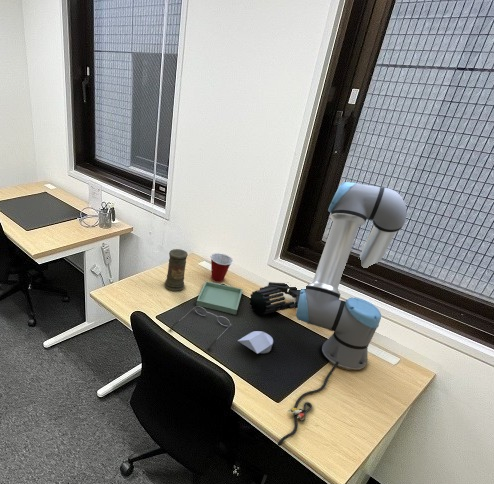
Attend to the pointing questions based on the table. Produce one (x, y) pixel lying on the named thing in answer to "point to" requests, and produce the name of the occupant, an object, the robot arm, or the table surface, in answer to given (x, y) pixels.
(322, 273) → the robot arm
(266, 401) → the table surface
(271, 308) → the pen pot
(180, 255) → the container
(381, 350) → the table surface
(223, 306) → the desk tray
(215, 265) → the plastic cup
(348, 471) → the table surface
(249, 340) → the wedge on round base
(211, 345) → the eyeglasses
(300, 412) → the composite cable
